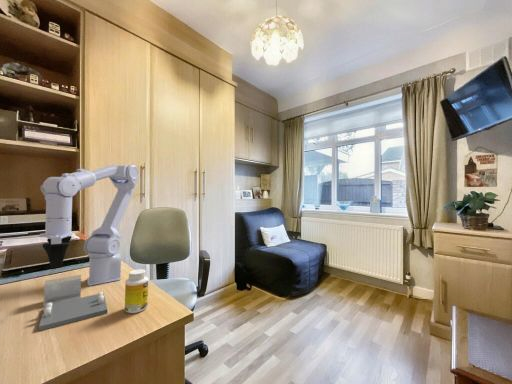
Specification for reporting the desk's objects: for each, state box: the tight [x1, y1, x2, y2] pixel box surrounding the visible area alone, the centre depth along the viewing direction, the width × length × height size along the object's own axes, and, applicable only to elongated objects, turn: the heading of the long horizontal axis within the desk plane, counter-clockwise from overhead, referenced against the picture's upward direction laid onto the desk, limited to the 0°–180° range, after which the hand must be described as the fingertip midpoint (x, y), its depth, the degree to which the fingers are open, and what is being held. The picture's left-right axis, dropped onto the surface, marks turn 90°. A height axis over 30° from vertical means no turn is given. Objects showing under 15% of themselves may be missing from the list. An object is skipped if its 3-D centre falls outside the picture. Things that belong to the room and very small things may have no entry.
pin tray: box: [38, 291, 108, 332], centre depth 59 cm, size 13×12×3 cm
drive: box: [42, 274, 82, 308], centre depth 65 cm, size 8×4×6 cm, turn 128°
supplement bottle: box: [124, 268, 149, 314], centre depth 61 cm, size 6×6×10 cm
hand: (57, 264), depth 65 cm, fingers open, 7 cm apart
